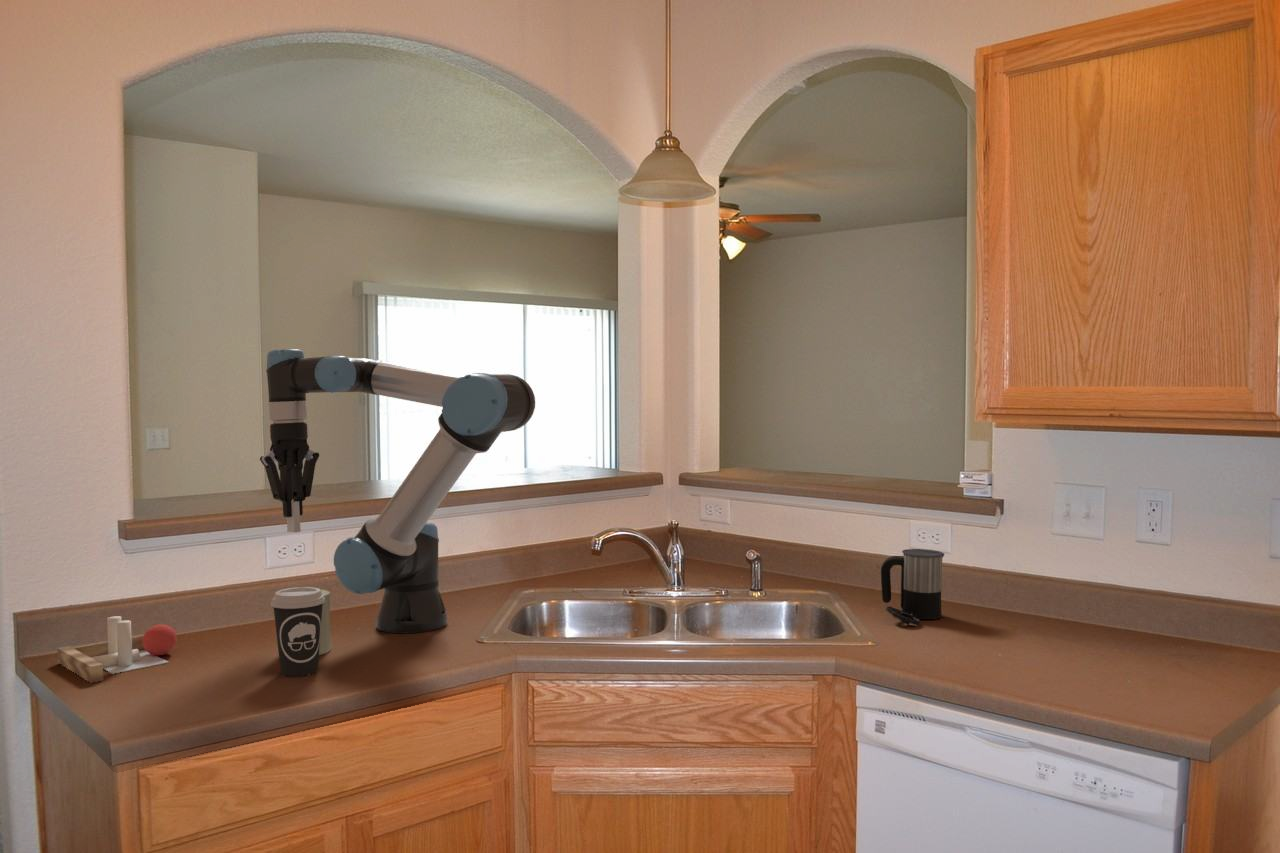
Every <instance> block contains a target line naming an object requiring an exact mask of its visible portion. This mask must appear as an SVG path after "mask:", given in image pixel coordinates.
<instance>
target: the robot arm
mask: <svg viewBox="0 0 1280 853" xmlns="http://www.w3.org/2000/svg"><path fill="white" fill-rule="evenodd" d="M265 372H266V376H267V377H266V378H267V390H268V407H269V408H268V410H269V413H268V414H269V421H271V422H272V423H270V425H269V433H270V434H269V435H270V436H269V437H270V441H271V445H270V447H269V452H268V453H266V454H265V455H262V456H260V458H259V461H260V462H261V464H262V466H264V469H265V472H266V477H267V480H268V482H269V487H270V490H271V493H272V498H273V500H277V501H280V502H281V503H282V515H283V517H284V518H286V528H287V530H286V532H287V533H300V532H301V516H303V514H304V510H303V507H304V506H303V502H304V501H305V500H306V498H308V497H311V495H312V488H313V480H314V476H315V470H316V463H317V462H318V460H319V458H320V453H319V452H318V451H317V452H315V451H313V450H311V449H310V445H309V443H308V437H309V435H308V423H307V422H306V421H305V420H307V419H308V413H307V412H308V411H307V410H308V409H307V394H309V393H310V394H313V393H314V394H315V393H316V394H317V393H318V394H319V393H330V394H331V393H332V394H333V393H363V394H371V395H375V396H383V397H387V398H393V399H397V400H403V401H409V402H414V403H420V404H425V405H431V406H437V407H442V409H441V413H440V415H439V416H438V418H437V421H438V424H439V425H438V426H439V430H438V432H437V433H436V434H435V436H434V437H433V439H432V440H431V441H430V442H429V444H428V445H427V447H426V449H425V450H424V451H423V452H422V454H421V456H420V457H419V459H418V460H417V461H416V463H415V465H414V466H413V467H412V469H411V470H410V471H409V473H408V474H407V475H406V477H405V478H404V480H403V481H402V483H401V484H400V486H399V487H398V488H397V490H396V492H394V494H393V495H392V496H391V498H390V500H389V501H388V503H387V504H386V505H385V507H384V508H383V510H382V511H381V513H380V514H379V515H373V516H370V517H369V518H368V519H367V520H366V521H365V522H364V524H363V525H362V527H361V528H360V530H359V531H358V533H357V534H356V535H355V536H352V537H347V538H346V539H345V540H343V541H342V542H340V543H339V544H338V546H337V547H336V549H335V551H334V554H333V566H334V569H335V570H334V572H335V575H336V577H337V579H338V580H339V582H340V584H341V585H342V586H343V587H344V588H345V589H346V590H348V591H349V592H351V593H353V594H356V595H365V594H373V593H376V592H377V591H380V590H383V589H384V593H383V595H382V599H381V602H380V605H379V608H378V612H377V615H376V628H377V630H379V631H381V632H385V633H389V634H390V633H393V634H417V633H425V632H430V631H431V632H432V631H435V630H439V629H441V628H444V627H445V626H446V625H447V624H448V613H447V610H446V606H445V605H444V601H443V598H442V595H441V592H440V589H439V588H440V587H439V542H440V539H439V533H438V527H437V525H436V524H434V523H432V522H428V521H429V520H430V519H431V517H432V516H433V514H434V513H435V512H436V510H437V509H438V507H439V506H440V504H441V503H442V501H444V499H445V497H446V496H447V495H448V493H450V491H451V489H452V488H453V487H454V486H455V483H456V482H457V481H458V480H459V478H460V476H462V474H463V472H464V471H465V470H466V468H467V467H468V466H469V464H470V463H471V462H472V460H473V459H474V457H475V456H476V455H477V454H483V453H487V452H488V451H489V449H490V448H491V447H492V445H493V444H495V441H496V440H497V439H498V437H499V436H500V435H501V434H502V433H505V432H511V431H516V430H518V429H521V428H522V427H524V426H525V425H527V423H528V422H529V421H530V420H531V419H532V417H533V414H534V412H535V409H536V397H535V396H536V395H535V393H534V391H533V388H532V387H531V386H530V384H529V383H528V382H527V381H526V380H525V379H523V378H521V377H520V376H517V375H514V374H506V373H503V374H501V373H498V374H495V373H494V374H493V373H491V374H489V373H485V372H474V373H471V374H466V375H465V374H460V373H454V372H447V371H441V370H436V369H432V368H424V367H418V366H412V365H405V364H400V363H394V362H388V361H382V360H381V359H377V358H372V357H364V358H363V357H361V358H360V357H348V356H345V355H327V356H326V355H325V356H316V357H305V356H304V351H303V350H302V349H294V348H289V349H287V348H285V349H272V350H270V351H268V352H267V355H266V371H265ZM304 460H305V461H304ZM303 461H304V462H303ZM275 462H277V464H278V465H276V463H275ZM277 466H278V467H277ZM278 470H279V471H278ZM443 626H444V627H443ZM438 628H439V629H438Z"/></svg>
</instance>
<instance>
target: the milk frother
mask: <svg viewBox="0 0 1280 853" xmlns="http://www.w3.org/2000/svg"><path fill="white" fill-rule="evenodd" d="M901 552H902V554H903V555H892V556H889V557H888V558H886V559H885V560H884V561H883V563H882V565H881V568H880V580H881V582H880V584H881V599H882V601H883V603H885V604H888V603H890V602H891V600H892V587H891V586H892V584H891V583H892V581H891V570H892V568H893V567H894V566H901V567H900V568H901V573H900V575H901V576H900V578H901V579H900V608H901V610H900V609H899V608H896V607H892V606H888V605H887V606H886V608H885V611H886V612H887V613H889V614H890V615H892V616H893V617H895V618H897V619H898V620H900V621H901V622H902V623H904V624H907V626H909V624H912V625H919V624H920V623H921V622H920V621H921V620H920V619H936V620H938V619H937V618H940V619H942V618H943V614H942V578H943V577H942V576H943V575H942V574H943V559H944V558H943V557H944V556H945V553H944V552H942V551H939V550H935V549H921V548H908V549H903V550H902V551H901ZM941 617H942V618H941Z"/></svg>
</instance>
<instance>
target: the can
mask: <svg viewBox="0 0 1280 853" xmlns="http://www.w3.org/2000/svg"><path fill="white" fill-rule="evenodd" d="M320 590H321V593H322V594H323V595H324V597H325V602H324V603H323V607H322V620H321V633H320V647H319V656H321V655H325V654H327V653H329V652H330V651H331V650H332V645H331V610H330V608H331V606H330V605H331V601H330V600H331V599H330V598H331V592H330V591H328V590H326V589H320Z"/></svg>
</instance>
